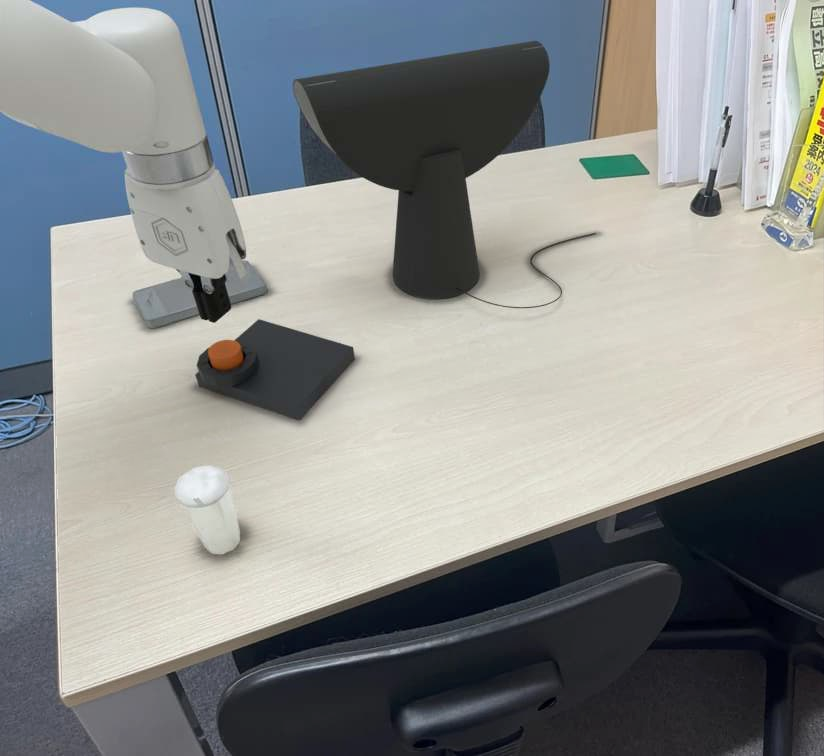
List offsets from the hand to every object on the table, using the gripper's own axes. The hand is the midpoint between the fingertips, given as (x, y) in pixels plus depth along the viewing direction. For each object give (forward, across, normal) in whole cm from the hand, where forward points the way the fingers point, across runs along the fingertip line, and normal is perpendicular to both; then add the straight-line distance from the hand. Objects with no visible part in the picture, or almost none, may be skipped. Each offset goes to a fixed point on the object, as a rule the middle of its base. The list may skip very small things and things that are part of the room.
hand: (216, 314), depth 79 cm
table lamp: (+10, +17, +34) cm, 39 cm away
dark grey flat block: (+10, +4, +3) cm, 11 cm away
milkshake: (+10, +14, -20) cm, 26 cm away
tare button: (+6, 0, 0) cm, 6 cm away
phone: (+10, -15, +12) cm, 22 cm away
